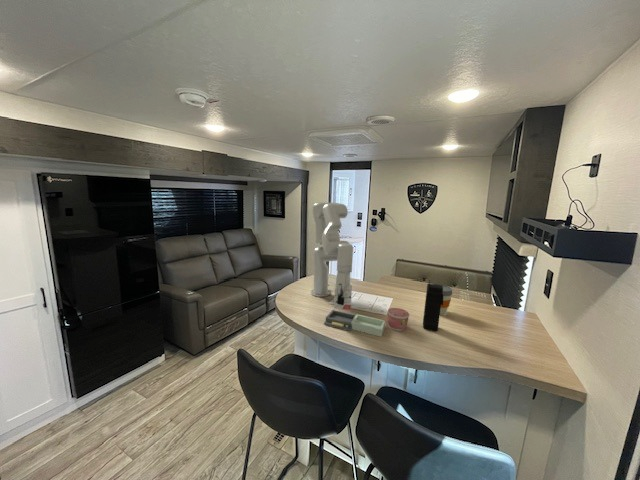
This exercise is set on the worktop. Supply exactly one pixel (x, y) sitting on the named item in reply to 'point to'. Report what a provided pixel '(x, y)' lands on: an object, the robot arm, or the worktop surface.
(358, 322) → the trough
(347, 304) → the ink box
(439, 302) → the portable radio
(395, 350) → the worktop surface
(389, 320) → the container
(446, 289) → the reusable coffee cup
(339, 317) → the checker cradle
